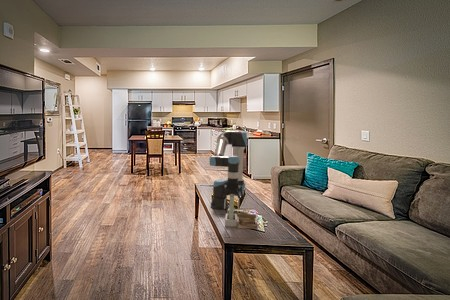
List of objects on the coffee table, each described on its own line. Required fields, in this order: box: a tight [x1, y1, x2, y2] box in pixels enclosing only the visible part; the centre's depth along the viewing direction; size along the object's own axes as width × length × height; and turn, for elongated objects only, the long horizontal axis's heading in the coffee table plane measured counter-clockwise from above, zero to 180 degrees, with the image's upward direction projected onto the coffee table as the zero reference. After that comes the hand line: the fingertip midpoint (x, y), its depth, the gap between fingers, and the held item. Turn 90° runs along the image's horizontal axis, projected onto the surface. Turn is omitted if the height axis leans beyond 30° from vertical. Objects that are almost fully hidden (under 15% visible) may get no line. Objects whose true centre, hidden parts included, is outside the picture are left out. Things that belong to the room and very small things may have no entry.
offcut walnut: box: [239, 220, 254, 225], centre depth 236 cm, size 4×9×2 cm, turn 112°
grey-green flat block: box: [228, 194, 235, 220], centre depth 240 cm, size 3×10×20 cm, turn 178°
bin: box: [224, 213, 237, 228], centre depth 241 cm, size 14×8×5 cm, turn 177°
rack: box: [236, 212, 258, 229], centre depth 240 cm, size 14×14×6 cm
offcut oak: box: [241, 218, 251, 222], centre depth 236 cm, size 4×6×2 cm, turn 120°
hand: (231, 208), depth 240 cm, fingers open, 9 cm apart
